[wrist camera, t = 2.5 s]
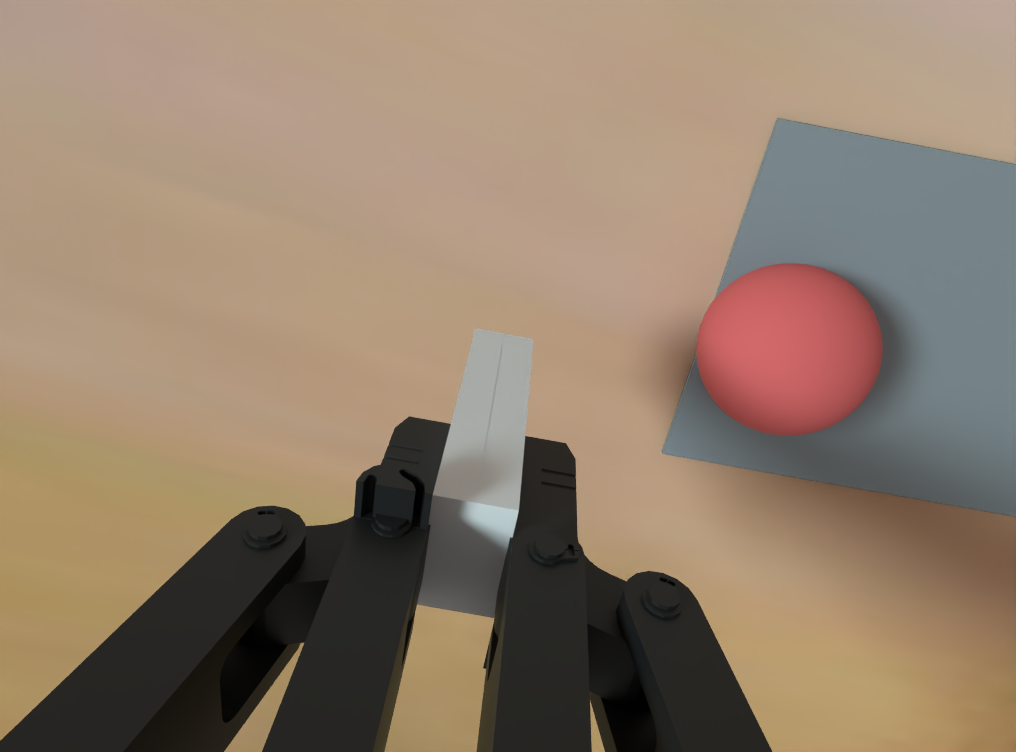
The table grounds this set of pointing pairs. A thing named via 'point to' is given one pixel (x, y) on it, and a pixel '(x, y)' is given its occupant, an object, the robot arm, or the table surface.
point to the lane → (888, 316)
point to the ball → (789, 349)
